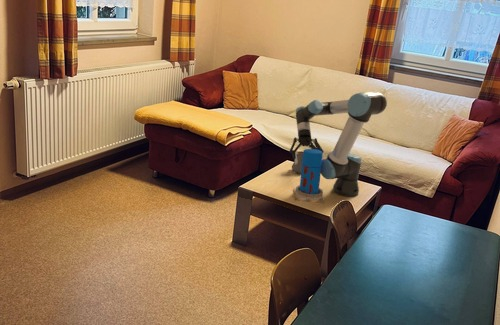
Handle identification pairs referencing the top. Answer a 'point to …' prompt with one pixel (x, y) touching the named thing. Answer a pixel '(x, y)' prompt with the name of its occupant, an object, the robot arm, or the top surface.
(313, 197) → the thermos stand
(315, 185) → the thermos
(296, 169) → the coffee pot
